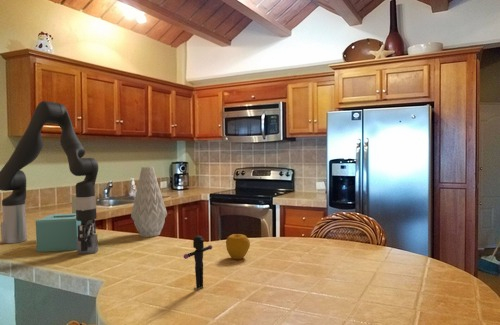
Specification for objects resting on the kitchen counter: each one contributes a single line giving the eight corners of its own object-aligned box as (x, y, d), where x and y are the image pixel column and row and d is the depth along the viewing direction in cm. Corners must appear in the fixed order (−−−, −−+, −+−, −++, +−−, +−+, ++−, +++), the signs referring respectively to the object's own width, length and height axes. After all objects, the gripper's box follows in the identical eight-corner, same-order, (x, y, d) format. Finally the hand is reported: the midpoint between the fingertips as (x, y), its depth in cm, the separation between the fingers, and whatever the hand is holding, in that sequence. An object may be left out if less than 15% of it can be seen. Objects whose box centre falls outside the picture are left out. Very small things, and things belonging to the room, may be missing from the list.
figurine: (207, 281, 113) (205, 231, 113) (217, 283, 111) (216, 232, 111) (180, 294, 103) (178, 239, 102) (191, 297, 101) (189, 241, 100)
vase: (125, 236, 181) (122, 167, 181) (155, 230, 193) (152, 166, 193) (144, 240, 170) (141, 167, 169) (174, 234, 182) (172, 166, 181)
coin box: (37, 252, 156) (35, 220, 155) (53, 242, 171) (51, 214, 171) (77, 249, 157) (76, 218, 157) (89, 241, 173) (88, 212, 173)
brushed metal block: (77, 254, 150) (76, 236, 150) (80, 252, 153) (79, 235, 153) (95, 253, 151) (95, 235, 151) (98, 251, 154) (97, 234, 154)
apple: (253, 255, 140) (252, 231, 139) (245, 262, 132) (244, 236, 131) (231, 254, 142) (230, 230, 142) (222, 260, 134) (221, 235, 134)
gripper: (82, 205, 158) (84, 244, 158) (69, 210, 144) (71, 253, 144) (100, 205, 159) (102, 243, 159) (90, 209, 145) (92, 252, 145)
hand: (87, 248), depth 152 cm, fingers open, 8 cm apart
